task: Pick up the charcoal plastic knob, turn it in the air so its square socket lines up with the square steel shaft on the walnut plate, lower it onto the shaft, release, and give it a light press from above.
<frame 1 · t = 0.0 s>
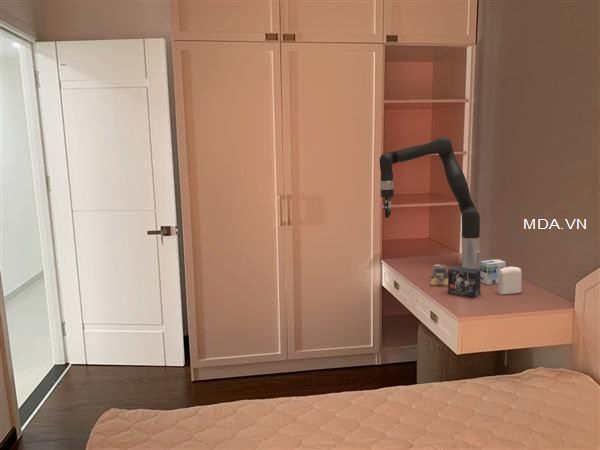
hand: (387, 216, 276), 29 cm above the table, fingers open, 8 cm apart
photo printer: (509, 293, 221), on the table
knob: (440, 277, 251), on the table
small box: (464, 294, 223), on the table
light bulb box: (492, 282, 238), on the table
shaft base: (442, 283, 241), on the table
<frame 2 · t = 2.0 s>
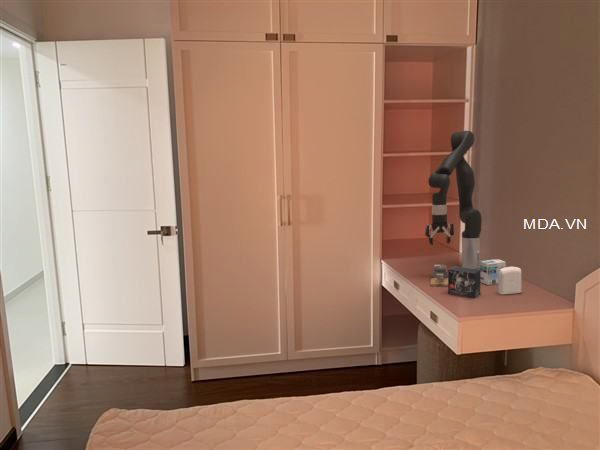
hand: (439, 244, 248), 18 cm above the table, fingers open, 8 cm apart
nothing on the table moved.
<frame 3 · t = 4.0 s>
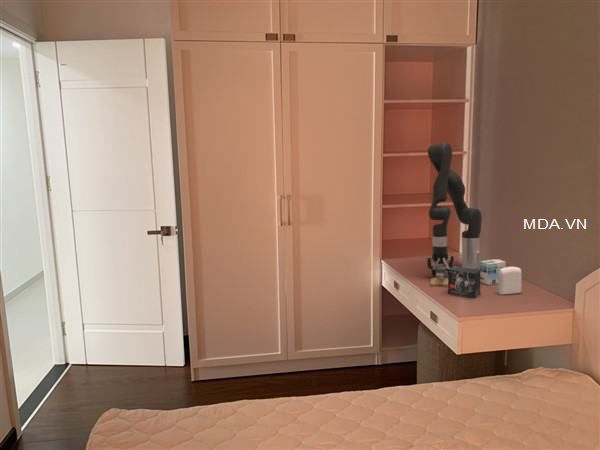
hand: (440, 275, 250), 1 cm above the table, fingers closed on knob, 6 cm apart
knob: (440, 277, 251), on the table, touching gripper
everything else where it was.
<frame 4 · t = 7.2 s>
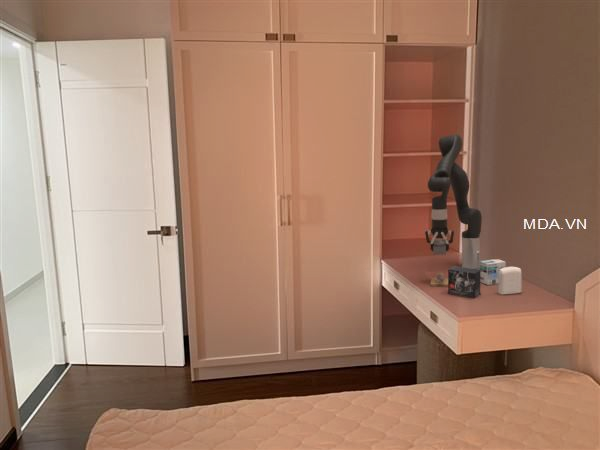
hand: (439, 251, 238), 17 cm above the table, fingers closed on knob, 6 cm apart
knob: (439, 253, 239), point 16 cm above the table, touching gripper
everything else where it was.
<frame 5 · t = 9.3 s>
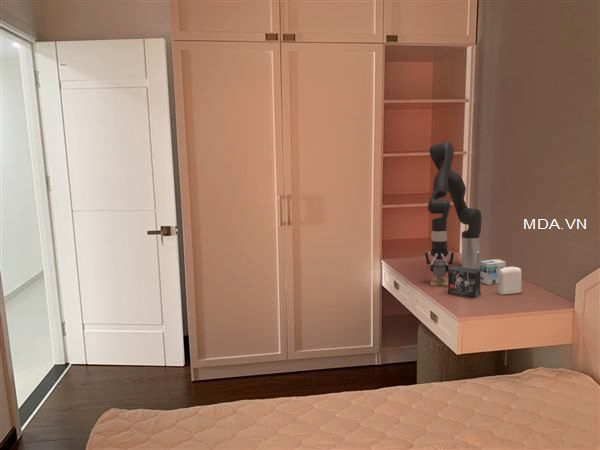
hand: (439, 271, 240), 6 cm above the table, fingers closed on knob, 6 cm apart
knob: (439, 274, 240), point 5 cm above the table, touching gripper
everything else where it was.
when the fingers open (3 cm above the table, at t = 10.7 s): knob drops 1 cm, resting on shaft base.
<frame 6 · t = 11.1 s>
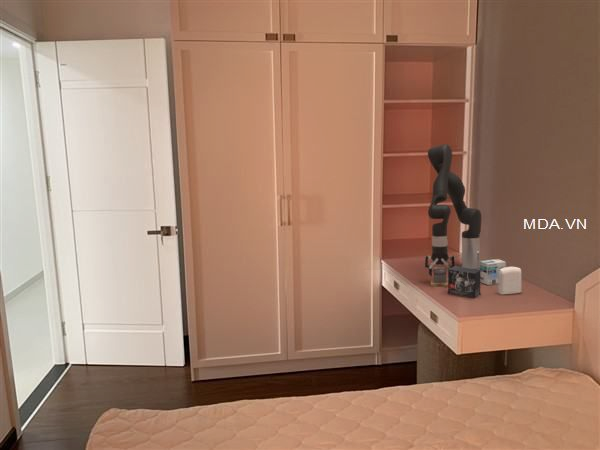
hand: (439, 275, 241), 4 cm above the table, fingers open, 8 cm apart
knob: (440, 281, 241), point 1 cm above the table, touching shaft base
everything else where it was.
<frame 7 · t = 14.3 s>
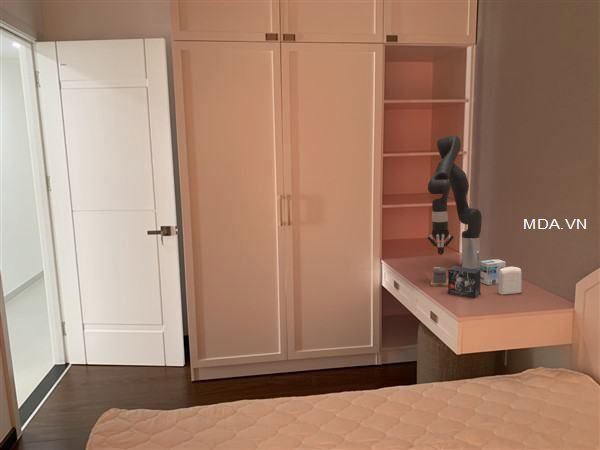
hand: (440, 254, 238), 15 cm above the table, fingers closed
nothing on the table moved.
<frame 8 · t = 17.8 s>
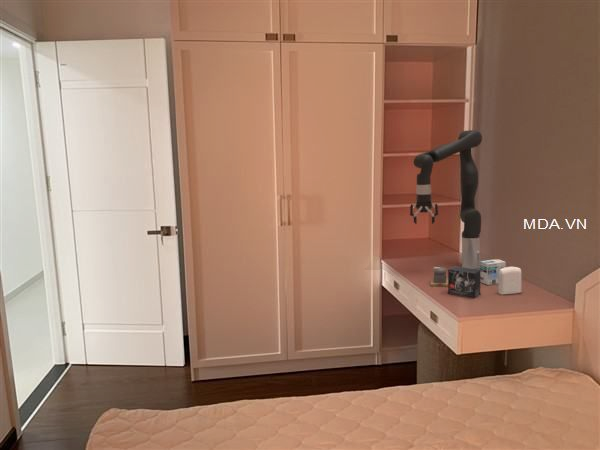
hand: (424, 223, 253), 28 cm above the table, fingers open, 8 cm apart
nothing on the table moved.
at the end: knob 0.0 cm from the target spot on the shaft base, point 1.2 cm above the shaft base's base; knob tilted 0°; the gripper is holding nothing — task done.
